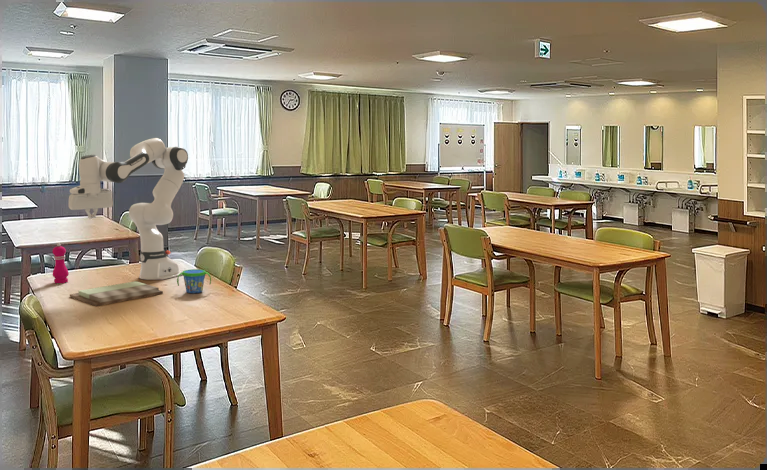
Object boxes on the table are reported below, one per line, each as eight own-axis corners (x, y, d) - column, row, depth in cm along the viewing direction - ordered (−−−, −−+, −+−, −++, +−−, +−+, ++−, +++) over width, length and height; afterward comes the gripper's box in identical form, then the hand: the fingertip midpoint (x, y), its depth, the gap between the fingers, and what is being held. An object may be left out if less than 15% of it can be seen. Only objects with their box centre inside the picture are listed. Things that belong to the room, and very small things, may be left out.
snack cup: (212, 289, 317) (212, 268, 316) (210, 294, 307) (209, 273, 306) (179, 289, 315) (178, 269, 314) (175, 295, 305) (174, 273, 304)
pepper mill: (72, 281, 332) (69, 242, 329) (63, 284, 325) (61, 244, 322) (58, 280, 333) (56, 241, 330) (50, 283, 326) (47, 244, 323)
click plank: (136, 285, 319) (135, 281, 318) (146, 288, 312) (146, 284, 312) (78, 294, 297) (78, 290, 297) (89, 298, 291) (88, 294, 291)
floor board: (135, 285, 323) (134, 279, 323) (162, 293, 307) (162, 287, 307) (69, 296, 299) (69, 290, 299) (96, 306, 283) (95, 298, 283)
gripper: (108, 187, 321) (109, 215, 323) (66, 189, 306) (67, 219, 308) (114, 188, 317) (116, 216, 319) (72, 190, 302) (73, 220, 304)
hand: (92, 218), depth 313 cm, fingers closed
